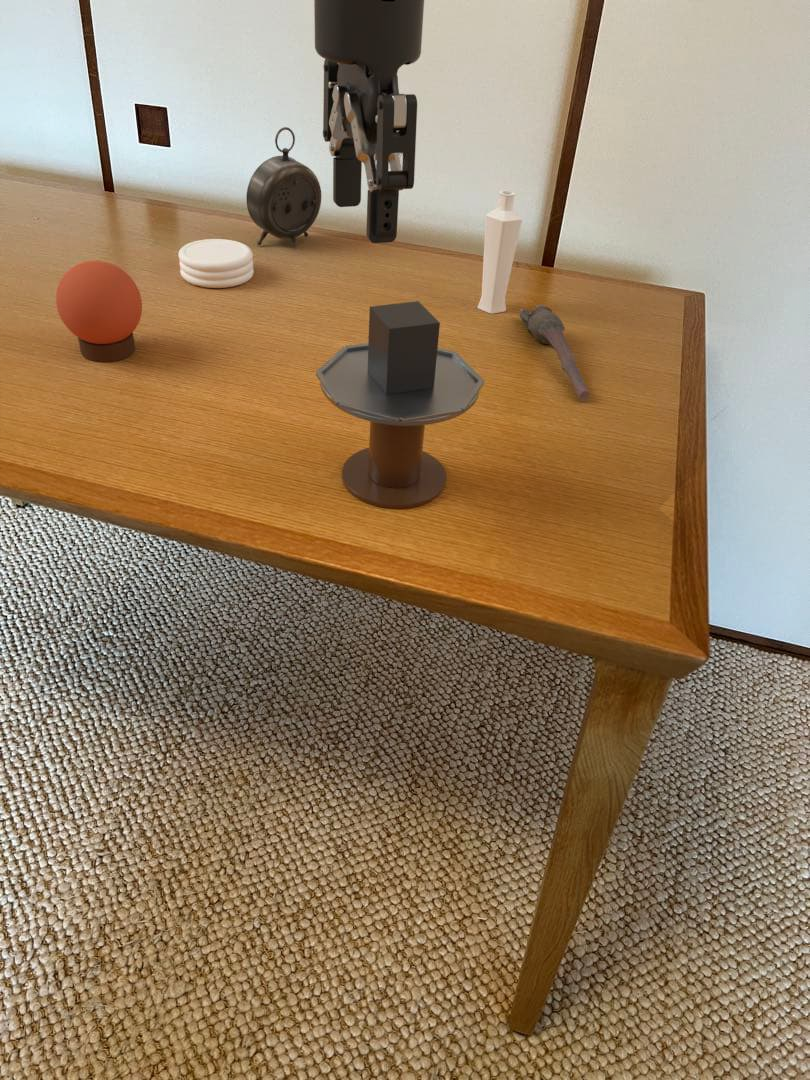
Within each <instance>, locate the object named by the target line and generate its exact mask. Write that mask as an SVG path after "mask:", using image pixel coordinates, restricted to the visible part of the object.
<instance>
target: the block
mask: <svg viewBox="0 0 810 1080" xmlns="http://www.w3.org/2000/svg"><path fill="white" fill-rule="evenodd" d="M368 318H369V319H368V341H367V343H368V370H367V371H368V372H369V373H370V375H371V376H372V377H373V379H374V380H375V381H376V382H377V384H378V385H379V386H380V388H381V389H382V390H383V391H384V393H385V394H386V395H388V394H395V393H401V392H408V391H414V390H421V389H427V388H434V381H435V370H436V359H437V349H438V348H439V339H440V338H439V337H440V327H441V326H440V325H441V322H440V321H439V320H438V319H437V318H436V317H435V316H434V315H433V314H432V313H431V312H430V311H429V310H428V309H427V308H426V307H425V306H424V305H423V304H422V303H421V302H420V301H418V300H416V301H407V302H398V303H391V304H382V305H381V304H380V305H372V306H371V305H370V306H369V316H368Z"/></svg>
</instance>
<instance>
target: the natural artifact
mask: <svg viewBox="0 0 810 1080" xmlns="http://www.w3.org/2000/svg"><path fill="white" fill-rule="evenodd" d="M519 311H520V312H519V318H520V319H521V320H522V323H523V324H525V325H526V326H528V327H527V328H526V332H527V333H528V334H530V335H531V334H532V337H533V339H534V340H535V341H537V342H538V343H540V344H544V345H545V344H547V345H550V344H551V346H552V348H553V349H554V351H555V353H556V355H557V358H558V360H559V362H560V365H561V370H563V371H564V372H565V374H567V377H568V378H569V380H570V382H571V385H572V387H573V389H574V391H575V393H576V395H577V397H578V398H579V401H581V402H583V403H585V402H588V401H589V399H590V395H591V394H590V391H589V389H588V388H587V387H588V386H587V385H586V383H585V382H584V379H583V378H582V375H581V374H580V371H579V369H578V366H577V363H576V358H575V355H574V354H573V352H572V350H571V347H570V345H569V343H568V341H567V339H566V337H565V335H564V330H566V327H565V326H564V323H563V321H562V320H561V318H560V317H559V316H558V315H557V314H555V313H554V312H552V311H553V310H552V309H551V308H550V307H548V305H547V306H546V305H543V304H538V305H536V306H535V308H534V309H532V310H528V308H526V309H523V308H521V309H520V310H519Z"/></svg>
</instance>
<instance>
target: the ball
mask: <svg viewBox="0 0 810 1080" xmlns="http://www.w3.org/2000/svg"><path fill="white" fill-rule="evenodd" d="M55 293H56V294H55V304H56V309H57V313H58V315H59V318H60V320H61V321H62V323H63V324H64V326H65V327H66V328H67V329H68V330H69V332H71V333H72V334H73V335H74V336H76V337H77V339H78V345H79V350H80V353H81V356H82V357H83V358H84V359H87V360H88V361H92V362H99V363H112V362H118V361H121V360H124V359H127V358H129V357H130V356H132V355H133V354H134V353H135V352H136V343H135V337H134V331H135V330H136V329H137V327H138V325H139V323H140V321H141V318H142V314H143V302H142V301H143V300H142V296H141V293H140V290H139V288H138V286H137V284H136V283H135V281H134V279H133V278H132V277H131V276H130V274H128V273H127V272H126V271H125V270H123V269H122V268H120V267H118V266H117V265H116V264H113V263H110V262H106V261H102V260H87V261H83V262H81V263H78V264H76V265H74V266H72V267H71V268H69V269H68V270H67V271H66V272H65V273H64V274H63V276H62V277H61V278H60V280H59V282H58V285H57V288H56V292H55Z"/></svg>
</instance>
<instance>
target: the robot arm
mask: <svg viewBox="0 0 810 1080" xmlns="http://www.w3.org/2000/svg"><path fill="white" fill-rule="evenodd" d="M313 5H314V6H313V8H314V13H313V14H314V49H315V52H316V53H317V54H318V55H319V56H320V57H321V58H322V59H324V61H323V66H322V67H323V108H322V109H323V114H322V115H323V116H322V117H323V118H322V119H323V120H322V137H323V140H324V142H325V143H327V142H329V145H328V150H329V153H330V156H331V157H333V158H332V162H333V163H332V188H333V189H332V200H333V203H334V204H335V205H336V206H337V207H339V208H351V207H357V206H359V205H360V204H361V200H362V172H363V171H362V170H363V166H362V165H363V164H364V171H365V176H366V182H367V183H366V184H367V187H368V188H367V196H366V197H367V198H366V200H367V201H366V202H367V203H366V208H367V209H366V232H365V234H366V238H367V239H368V240H369V241H370V242H371V243H372V244H384V243H392V242H394V241H396V239H397V235H398V216H399V201H400V200H399V198H400V191H403V190H412V189H413V188H414V185H415V170H416V169H415V168H416V149H417V148H416V145H417V125H418V124H417V123H418V122H417V121H418V118H417V117H418V100H417V96H416V94H415V93H414V94H413V93H412V94H411V93H409V94H408V93H407V94H405V93H400V90H399V77H398V71H399V69H400V68H401V67H402V66H404V65H406V66H408V65H412V64H414V63H416V62H417V61H418V60H419V59H420V57H421V53H422V42H423V26H424V25H423V24H424V8H425V0H314V2H313ZM401 156H402V157H401ZM362 163H363V164H362ZM389 168H390V170H389Z"/></svg>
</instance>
